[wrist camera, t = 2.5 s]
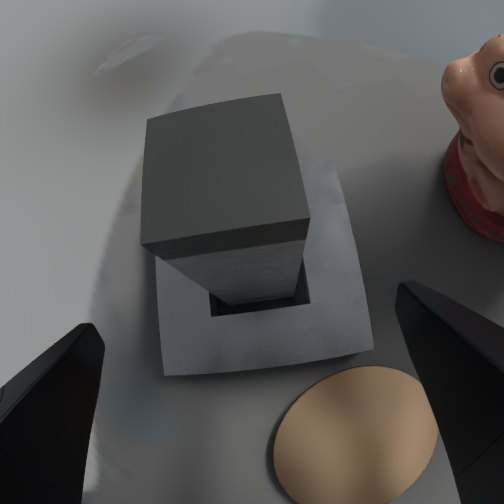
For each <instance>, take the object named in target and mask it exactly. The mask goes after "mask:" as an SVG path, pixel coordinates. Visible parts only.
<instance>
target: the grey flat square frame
mask: <svg viewBox="0 0 504 504" xmlns="http://www.w3.org/2000/svg"><path fill="white" fill-rule="evenodd" d="M299 167H300V171H301V176H302V180H303V184H304V189H305V193H306V198H307V203H308V207H309V212H310V217H311V219H310V224H309V228H308V233H307V238H306V243H305V247H304V252H303V256H302V261H301V267H302V273H303V279H304V285H305V291H306V298H307V304H304V305H298V306H291V307H285V308H278V309H271V310H263V311H256V312H248V313H241V314H232V315H224V316H218V311H217V301H216V296H215V295H213V294H211V293H210V292H208V291H207V290H205V289H204V288H203V287H201V286H200V285H198V284H197V283H195V282H194V281H192V280H191V279H189V278H188V277H186V276H185V275H183V274H182V273H180V272H179V271H178V270H176V269H175V268H173V267H172V266H170V265H169V264H168V263H166V262H165V261H163V260H162V259H160V258H159V257H158V256H156V255H155V260H156V285H157V302H158V317H159V329H160V341H161V351H162V360H163V369H164V376H171V375H194V374H210V373H223V372H235V371H245V370H254V369H263V368H271V367H279V366H286V365H293V364H300V363H306V362H312V361H318V360H324V359H329V358H335V357H340V356H345V355H350V354H355V353H360V352H364V351H369V350H373V349H374V343H373V336H372V330H371V323H370V317H369V311H368V305H367V299H366V294H365V288H364V283H363V278H362V273H361V268H360V263H359V258H358V254H357V249H356V245H355V240H354V236H353V232H352V227H351V223H350V219H349V215H348V211H347V207H346V203H345V200H344V196H343V192H342V189H341V185H340V181H339V178H338V174H337V171H336V167H335V164H334V161H323V162H314V163H306V164H299Z"/></svg>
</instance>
